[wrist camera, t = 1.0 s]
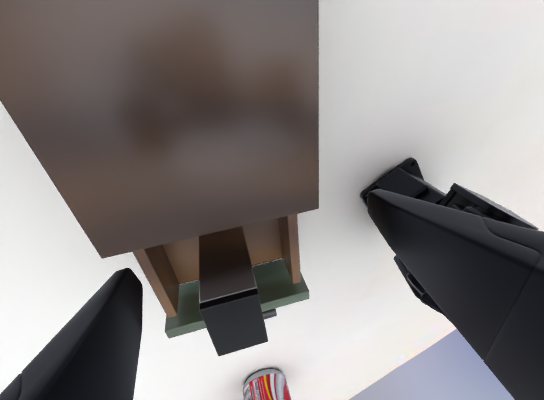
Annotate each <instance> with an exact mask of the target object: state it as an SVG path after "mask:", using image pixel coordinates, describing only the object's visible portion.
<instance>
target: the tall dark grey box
mask: <svg viewBox="0 0 544 400" xmlns="http://www.w3.org/2000/svg"><path fill="white" fill-rule="evenodd" d="M199 303H200V304H199V311H200V313H201V315H202V318H203V320H204V323H205V325H206V327H207V330H208V332H209V335H210V337H211V339H212V342H213V344H214V347H215V349H216V351H217V354H218V356H222V355H225V354H228V353H231V352H235V351H238V350H241V349H245V348H248V347H251V346H255V345H258V344H261V343H264V342H268V338H267V333H266V328H265V323H264V318H263V313H262V308H261V303H260V298H259V293H258V289H257V285H256V281H255V276H254V272H253V268H252V264H251V260H250V256H249V252H248V248H247V244H246V239H245V235H244V231H243V227H242V226H241V227H237V228H232V229H228V230H224V231H219V232H215V233H211V234H206V235H202V236H199Z"/></svg>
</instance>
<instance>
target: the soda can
mask: <svg viewBox="0 0 544 400" xmlns="http://www.w3.org/2000/svg"><path fill="white" fill-rule="evenodd" d="M243 395H244V400H291V397H290V394H289V390H288V386H287V382H286V379H285V376H284V375H283V374H282V373H281V372H279V371H278V370H276V369H265V370H261V371H259V372H256V373H254V374H253V375H251V376H250V377H249V378H248V379H247V381H246V383H245V385H244V387H243Z"/></svg>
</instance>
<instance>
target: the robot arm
mask: <svg viewBox="0 0 544 400" xmlns="http://www.w3.org/2000/svg"><path fill="white" fill-rule="evenodd" d="M411 162H412V163H411ZM361 198H362V200H363V202H364V203H365V205H366V207H367V210H368V213H369V215H370V217H371V219H372V220H373V222H374V223H375V225H376V226H377V228H378V229H379V231H380V233H381V234H382V236H383V237H384V239H385V240H386V242H387V243H388V245H389V246H390V247H391V249H392V250H393V251H394V252H395V254H396V256H395V257H394V260H395V262H396V264H397V265H398V267H399V269H400V271H401V272H402V274H403V276H404V278H405V279H406V281H407V283H408V284H409V286H410V288H411V289H412V291H413V293H414V294H415V296H416V297H417V298H419V299H420V300H421V302H422V303H424V304H426V305H428V306H429V307H431V308H432V309H434V310H436V311H437V312H440V313H442V314H443V315H444V316H445V317H446V318H447V319H448V320H449V321H451V322H452V324H453V325H454V326H455V327H456V328H457V329H458V331H459V332H460V333H461V334H462V335H463V337H464V338H465V339H466V340H467V342H468V343H469V344H470V345H471V346H472V348H473V349H474V350H475V351H476V352H477V354H478V355H479V356H480V357H481V359H483V360H484V362H485V364H486V365H487V366H488V367H489V369H490V370H491V371H492V372H493V374H494V375H495V376H496V377H497V378H498V380H499V381H500V382H501V383H502V384H503V386H504V387H505V388H506V389H507V391H508V392H509V393H510V394H511V395H512V396H513V398H514V399H515V400H544V232H542V231H538V228H537V227H535V226H534V225H532V224H531V223H529V222H527V221H526V220H524V219H523V218H521V217H520V216H518V215H516V214H515V213H513V212H512V211H510V210H508V209H506V208H504V207H502V206H501V205H499V204H497V203H495V202H493V201H491V200H489V199H487V198H485V197H484V196H481V195H479V194H477V193H475V192H473V191H471V190H468V189H466V188H464V187H462V186H460V185H458V184H456V183H454V184H453V185H452V186H451V188H450V191H449V192H448V193H447V194H445V193H443V192H441V191H440V190H438V189H437V188H435V187H433V186H432V185H430V184H428V183H427V182H425V181H424V179H423V176H422V174H421V171H420V168H419V166H418V163H417V161H416V160H415V159H413V158H409V159H408V160H406V161H405V162H404V163H402V164H401V165H399V166H398V167H397V168H395V169H394V170H392V171H391V172H390V173H388V174H387V175H386V176H384V177H383V178H381V179H380V180H379V181H377V182H376V183H374V184H373V185H372V186H370V187H369V188H368V189H366V190H365V191H363V192H362V193H361ZM142 298H143V288H142V284H141V282H140V280H139V279H138V278H137V276H136V275H135V274H134V272H133V271H132V270H131V269H130V268H125V269H122V270H119V271H116V272H115V273H114V274H113V275H112V276H111V277H110V278H109V279H108V280H107V282H106V283H105V284H104V285H103V286H102V287H101V288H100V289H99V290H98V291H97V292H96V293H95V294H94V295H93V296H92V297H91V299H90V300H89V301H88V302H87V303H86V304H85V305H84V306H83V307H82V308H81V309H80V310H79V311H78V312H77V313H76V314H75V316H74V317H73V318H72V319H71V320H70V321H69V322H68V323H67V324H66V325H65V326H64V327H63V328H62V329H61V330H60V331H59V333H58V334H57V335H56V336H55V337H54V338H53V339H52V340H51V341H50V342H49V343H48V344H47V345H46V346H45V347H44V348H43V349H42V351H41V352H40V353H39V354H38V355H37V356H36V357H35V358H34V359H33V360H32V361H31V362H30V363H29V364H28V365H27V366H26V368H25V369H24V370H23V371H22V374H19V375H18V376H17V377H16V378H15V379H14V380H13V381H12V382H11V383H10V385H9V386H8V387H7V388H6V389H5V390H4V391H3V392H2V393H1V394H0V400H133V396H134V388H135V380H136V372H137V365H138V357H139V349H140V341H141V333H142Z"/></svg>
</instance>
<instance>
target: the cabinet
mask: <svg viewBox="0 0 544 400" xmlns="http://www.w3.org/2000/svg"><path fill="white" fill-rule="evenodd" d="M0 100H1V102H2V104H3V105H4V107H5V108H6V110H7V111H8V113H9V115H10V116H11V118H12V119H13V121H14V122H15V124H16V125H17V127H18V129H19V130H20V132H21V133H22V135H23V136H24V138H25V139H26V141H27V143H28V144H29V146H30V147H31V149H32V150H33V152H34V154H35V155H36V157H37V158H38V160H39V161H40V163H41V164H42V166H43V168H44V169H45V171H46V172H47V174H48V175H49V177H50V178H51V180H52V182H53V183H54V185H55V186H56V188H57V189H58V191H59V192H60V194H61V196H62V197H63V199H64V200H65V202H66V203H67V205H68V207H69V208H70V210H71V211H72V213H73V214H74V216H75V217H76V219H77V221H78V222H79V224H80V225H81V227H82V228H83V230H84V231H85V233H86V235H87V236H88V238H89V239H90V241H91V242H92V244H93V246H94V247H95V249H96V250H97V252H98V253H99V255H100V256H101V258H106V257H111V256H115V255H119V254H124V253H128V252H132V251H137V250H141V249H145V248H150V247H154V246H158V245H163V244H167V243H171V242H176V241H180V240H184V239H189V238H193V237H198V236H202V235H206V234H211V233H215V232H219V231H224V230H228V229H232V228H237V227H241V226H245V225H250V224H254V223H258V222H263V221H267V220H271V219H276V218H280V217H284V216H289V215H293V214H297V213H302V212H306V211H310V210H315V209H318V208H319V149H318V0H0Z"/></svg>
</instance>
